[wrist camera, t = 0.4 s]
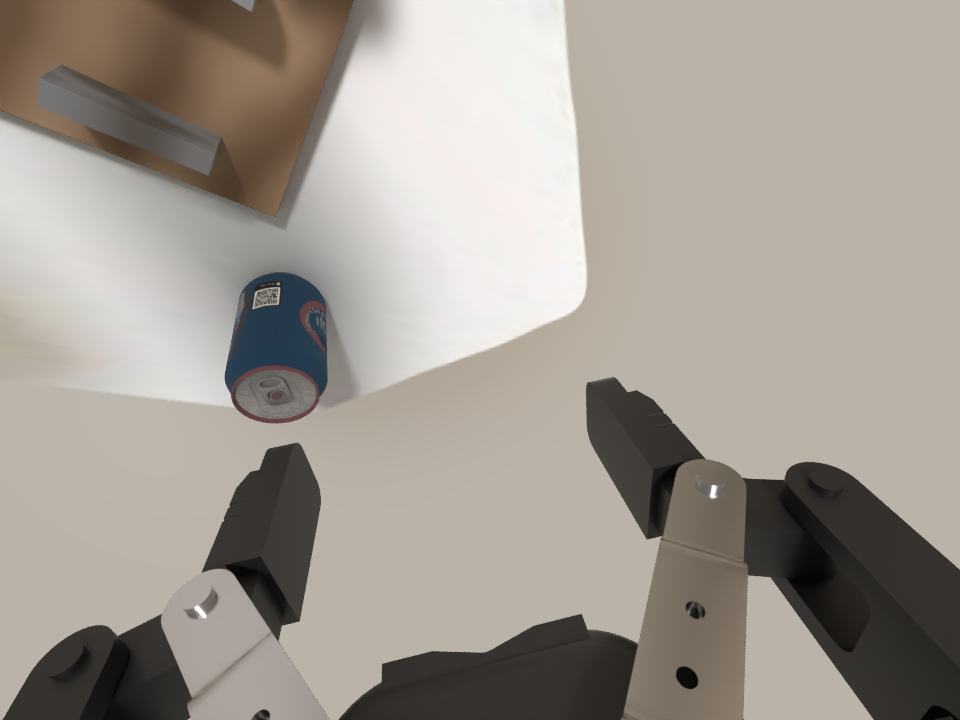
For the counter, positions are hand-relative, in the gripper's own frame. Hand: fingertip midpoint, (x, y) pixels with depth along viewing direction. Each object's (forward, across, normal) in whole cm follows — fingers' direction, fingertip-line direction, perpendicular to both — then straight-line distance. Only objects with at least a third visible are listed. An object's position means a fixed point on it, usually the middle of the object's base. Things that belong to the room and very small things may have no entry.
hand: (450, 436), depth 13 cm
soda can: (+30, +13, +5) cm, 33 cm away
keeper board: (+25, +12, -14) cm, 31 cm away
